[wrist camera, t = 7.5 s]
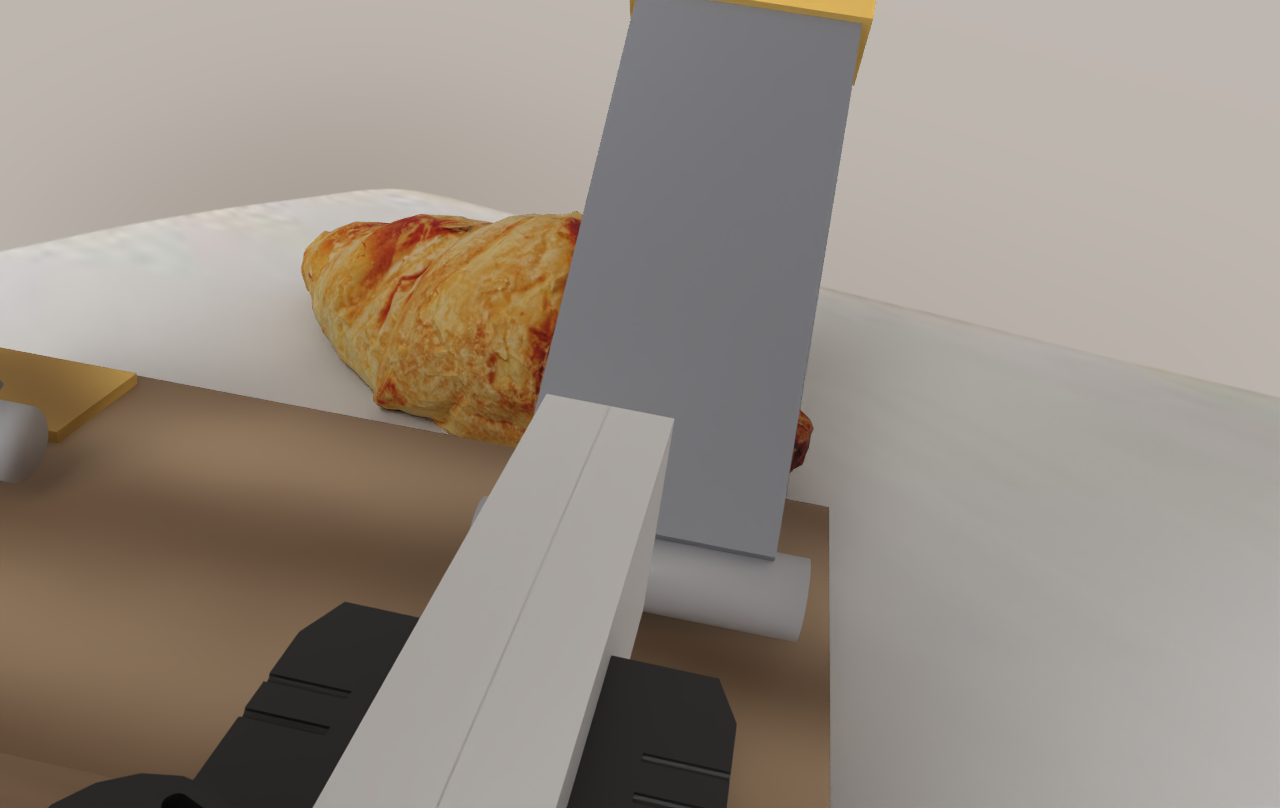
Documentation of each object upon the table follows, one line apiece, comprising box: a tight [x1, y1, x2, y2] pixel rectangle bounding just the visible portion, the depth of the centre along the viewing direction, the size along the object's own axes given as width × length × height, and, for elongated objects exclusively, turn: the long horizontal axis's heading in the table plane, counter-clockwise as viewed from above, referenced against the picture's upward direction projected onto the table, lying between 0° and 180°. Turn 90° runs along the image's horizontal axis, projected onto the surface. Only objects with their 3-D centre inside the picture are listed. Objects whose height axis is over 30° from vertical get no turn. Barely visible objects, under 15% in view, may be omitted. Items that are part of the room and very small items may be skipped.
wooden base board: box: [0, 348, 830, 808], centre depth 23 cm, size 12×24×3 cm, turn 81°
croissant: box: [301, 211, 813, 474], centre depth 35 cm, size 21×10×8 cm, turn 55°
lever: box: [470, 0, 876, 642], centre depth 23 cm, size 2×6×15 cm
